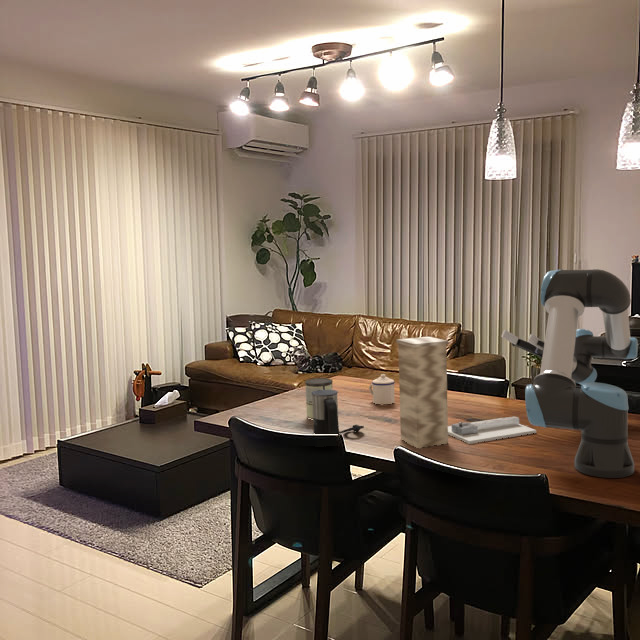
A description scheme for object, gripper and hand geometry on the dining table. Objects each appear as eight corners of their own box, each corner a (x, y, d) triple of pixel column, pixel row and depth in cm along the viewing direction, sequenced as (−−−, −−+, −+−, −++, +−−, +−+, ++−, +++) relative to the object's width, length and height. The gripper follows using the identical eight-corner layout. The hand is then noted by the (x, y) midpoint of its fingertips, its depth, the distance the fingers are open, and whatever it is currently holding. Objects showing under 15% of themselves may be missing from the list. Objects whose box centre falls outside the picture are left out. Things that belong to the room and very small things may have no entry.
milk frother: (307, 434, 230) (305, 391, 228) (344, 425, 239) (342, 384, 237) (331, 443, 218) (329, 398, 216) (369, 434, 227) (368, 391, 225)
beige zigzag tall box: (416, 449, 208) (414, 344, 204) (398, 439, 219) (396, 339, 215) (450, 443, 212) (448, 340, 209) (430, 434, 223) (428, 336, 220)
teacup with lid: (399, 402, 270) (399, 374, 269) (385, 406, 264) (384, 377, 263) (377, 398, 279) (376, 370, 277) (362, 402, 272) (361, 374, 271)
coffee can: (309, 414, 257) (307, 377, 256) (335, 414, 255) (334, 377, 254) (304, 421, 247) (302, 383, 246) (331, 421, 245) (330, 383, 244)
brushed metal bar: (461, 435, 217) (461, 424, 217) (451, 431, 223) (451, 420, 222) (522, 426, 226) (522, 415, 225) (511, 421, 231) (511, 411, 231)
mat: (469, 444, 211) (468, 441, 211) (438, 430, 228) (438, 427, 228) (536, 433, 221) (536, 430, 220) (502, 420, 237) (502, 417, 237)
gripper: (582, 376, 221) (536, 350, 213) (531, 365, 244) (488, 341, 236) (590, 355, 221) (545, 329, 213) (539, 346, 244) (497, 322, 236)
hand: (515, 335), depth 225 cm, fingers open, 13 cm apart
